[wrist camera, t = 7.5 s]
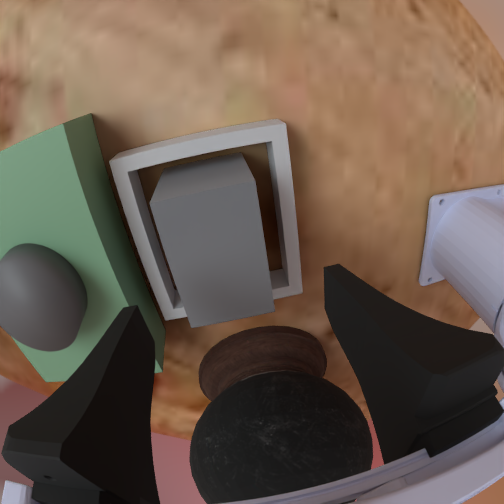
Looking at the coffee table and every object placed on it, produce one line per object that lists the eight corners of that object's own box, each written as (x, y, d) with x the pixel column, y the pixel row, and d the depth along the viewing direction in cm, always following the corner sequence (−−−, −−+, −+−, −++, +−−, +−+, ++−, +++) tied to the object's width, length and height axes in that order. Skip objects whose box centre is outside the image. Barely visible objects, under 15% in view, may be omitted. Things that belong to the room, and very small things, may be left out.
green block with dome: (270, 72, 15) (302, 68, 10) (297, 305, 24) (321, 366, 18) (-29, 167, 14) (-84, 202, 9) (58, 345, 23) (39, 402, 18)
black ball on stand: (349, 376, 30) (403, 506, 17) (233, 423, 31) (253, 551, 18) (305, 288, 23) (389, 485, 10) (155, 357, 25) (150, 538, 12)
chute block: (240, 151, 18) (255, 180, 13) (258, 256, 21) (275, 311, 16) (164, 168, 17) (149, 203, 13) (192, 270, 21) (191, 328, 16)
